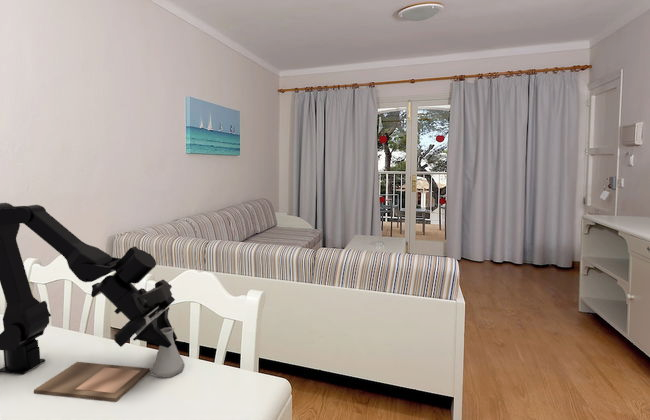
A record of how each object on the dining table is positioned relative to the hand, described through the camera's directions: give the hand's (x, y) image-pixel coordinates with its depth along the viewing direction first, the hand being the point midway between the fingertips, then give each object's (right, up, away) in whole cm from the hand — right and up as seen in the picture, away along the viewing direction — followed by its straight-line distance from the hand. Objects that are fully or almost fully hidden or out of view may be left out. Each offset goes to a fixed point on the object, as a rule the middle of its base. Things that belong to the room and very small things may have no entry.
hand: (172, 343), depth 91 cm
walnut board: (-16, -7, -4) cm, 18 cm away
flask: (-1, -7, +1) cm, 7 cm away
